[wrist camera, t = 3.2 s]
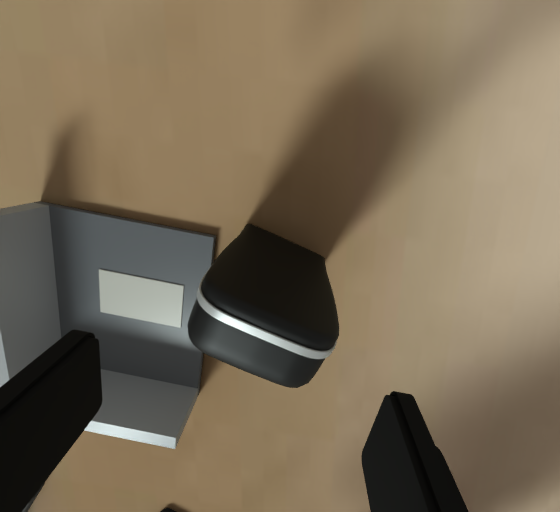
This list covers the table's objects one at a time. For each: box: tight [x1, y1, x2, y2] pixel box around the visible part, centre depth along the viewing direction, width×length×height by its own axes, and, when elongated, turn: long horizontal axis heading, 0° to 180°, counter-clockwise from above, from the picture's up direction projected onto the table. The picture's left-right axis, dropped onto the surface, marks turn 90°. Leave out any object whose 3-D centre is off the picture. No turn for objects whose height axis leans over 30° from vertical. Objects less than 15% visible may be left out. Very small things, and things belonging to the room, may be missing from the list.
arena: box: [0, 201, 216, 449], centre depth 23 cm, size 14×16×6 cm
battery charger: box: [188, 224, 339, 388], centre depth 18 cm, size 7×4×11 cm, turn 66°
